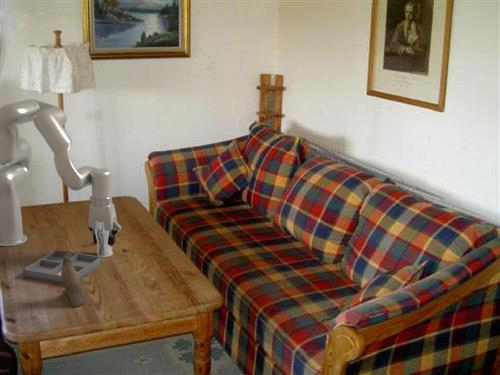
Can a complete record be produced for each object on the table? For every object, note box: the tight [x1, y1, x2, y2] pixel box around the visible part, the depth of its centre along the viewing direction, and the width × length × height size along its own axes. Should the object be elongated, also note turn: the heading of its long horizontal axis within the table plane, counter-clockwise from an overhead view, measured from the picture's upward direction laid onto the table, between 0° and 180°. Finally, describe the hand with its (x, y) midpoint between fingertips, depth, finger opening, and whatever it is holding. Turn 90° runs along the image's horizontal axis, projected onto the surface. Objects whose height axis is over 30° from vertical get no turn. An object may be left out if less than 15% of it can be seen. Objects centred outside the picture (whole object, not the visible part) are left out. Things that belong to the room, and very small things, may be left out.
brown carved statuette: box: [61, 250, 87, 308], centre depth 216 cm, size 12×6×18 cm, turn 32°
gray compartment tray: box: [23, 249, 103, 285], centre depth 239 cm, size 20×20×3 cm
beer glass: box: [95, 221, 114, 258], centre depth 253 cm, size 7×7×15 cm
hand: (104, 243), depth 254 cm, fingers closed on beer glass, 6 cm apart
